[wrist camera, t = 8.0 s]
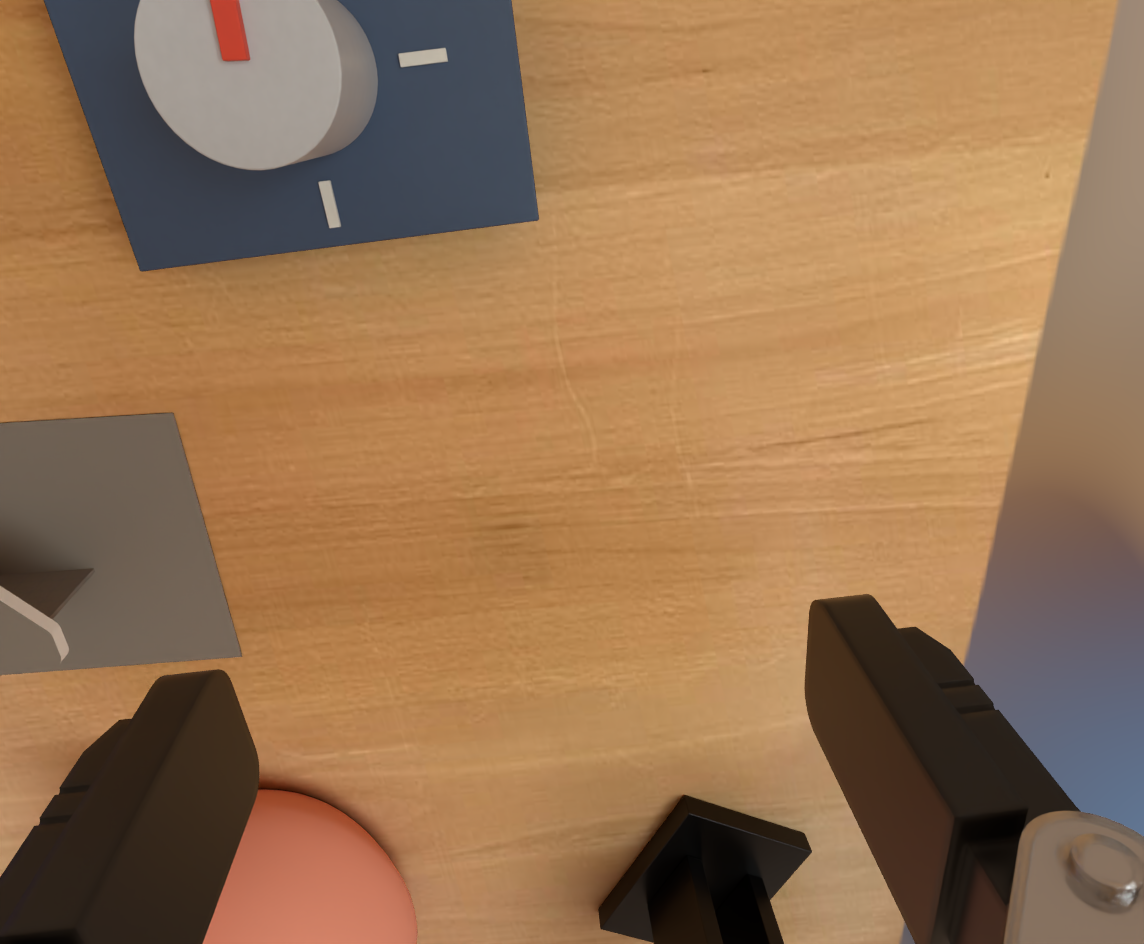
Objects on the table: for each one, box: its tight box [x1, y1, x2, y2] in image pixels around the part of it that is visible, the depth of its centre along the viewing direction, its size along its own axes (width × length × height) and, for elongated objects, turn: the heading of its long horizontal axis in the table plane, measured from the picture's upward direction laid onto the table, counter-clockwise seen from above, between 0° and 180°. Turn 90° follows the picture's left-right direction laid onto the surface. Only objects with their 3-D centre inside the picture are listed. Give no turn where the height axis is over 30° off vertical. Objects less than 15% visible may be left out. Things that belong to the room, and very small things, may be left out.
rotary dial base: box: [44, 0, 539, 271], centre depth 24 cm, size 13×10×3 cm
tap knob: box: [134, 0, 378, 170], centre depth 20 cm, size 5×5×6 cm
